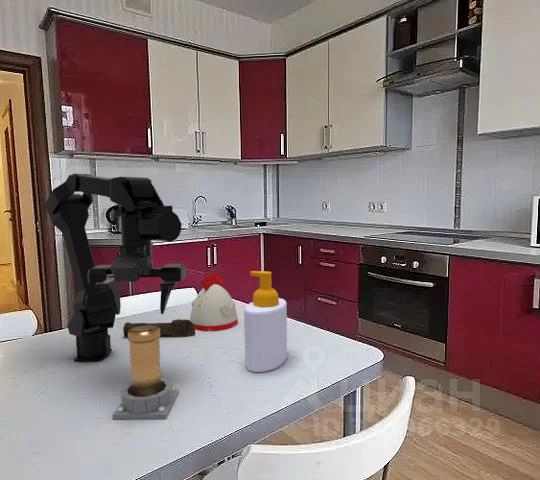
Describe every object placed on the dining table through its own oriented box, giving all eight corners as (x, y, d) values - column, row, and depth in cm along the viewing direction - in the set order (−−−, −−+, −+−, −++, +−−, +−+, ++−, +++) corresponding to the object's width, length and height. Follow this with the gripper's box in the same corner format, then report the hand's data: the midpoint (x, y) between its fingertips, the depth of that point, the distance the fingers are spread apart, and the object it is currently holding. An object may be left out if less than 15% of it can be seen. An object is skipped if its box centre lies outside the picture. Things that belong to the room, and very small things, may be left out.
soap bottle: (263, 348, 99) (262, 266, 96) (295, 353, 95) (294, 268, 93) (236, 369, 87) (233, 276, 85) (270, 376, 83) (268, 279, 81)
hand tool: (122, 339, 107) (121, 322, 107) (128, 334, 111) (127, 317, 111) (192, 340, 106) (191, 323, 105) (196, 335, 110) (195, 318, 109)
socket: (112, 419, 68) (111, 400, 67) (131, 393, 77) (130, 376, 76) (166, 418, 68) (165, 400, 67) (178, 393, 77) (178, 376, 76)
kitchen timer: (180, 326, 117) (178, 275, 116) (212, 314, 128) (211, 268, 127) (215, 334, 109) (214, 280, 108) (247, 321, 120) (246, 272, 119)
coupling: (124, 405, 71) (120, 333, 69) (144, 391, 76) (141, 324, 74) (150, 411, 69) (146, 337, 67) (169, 396, 74) (166, 327, 72)
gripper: (71, 244, 74) (76, 326, 76) (172, 243, 74) (175, 325, 76) (97, 238, 85) (101, 310, 87) (185, 237, 85) (188, 309, 87)
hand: (140, 313), depth 84 cm, fingers open, 9 cm apart
